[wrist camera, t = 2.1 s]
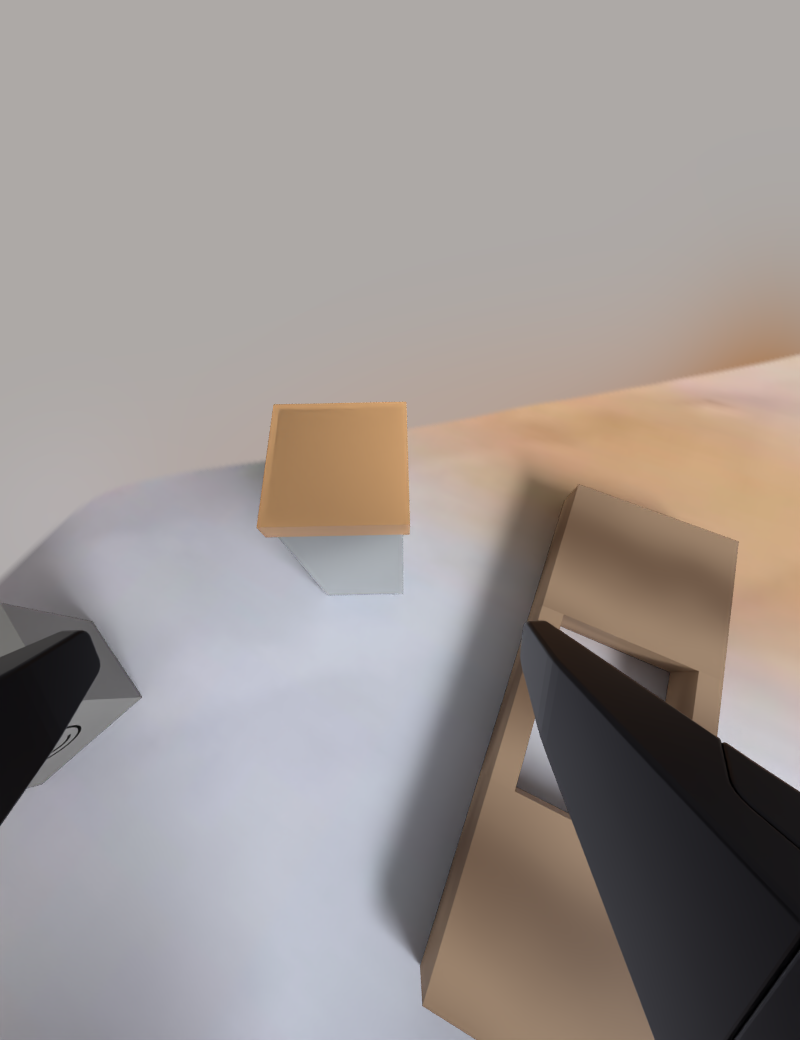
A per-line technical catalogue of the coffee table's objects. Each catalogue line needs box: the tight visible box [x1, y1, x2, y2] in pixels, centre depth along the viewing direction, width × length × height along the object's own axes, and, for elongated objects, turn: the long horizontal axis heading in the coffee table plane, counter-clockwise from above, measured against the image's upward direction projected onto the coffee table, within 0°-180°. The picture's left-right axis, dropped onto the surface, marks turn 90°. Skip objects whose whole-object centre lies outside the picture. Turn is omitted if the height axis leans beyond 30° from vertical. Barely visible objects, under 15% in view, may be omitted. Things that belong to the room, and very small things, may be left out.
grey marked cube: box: [0, 603, 142, 788], centre depth 16 cm, size 5×5×5 cm
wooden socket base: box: [420, 484, 739, 1040], centre depth 17 cm, size 22×8×2 cm, turn 156°
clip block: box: [257, 402, 410, 595], centre depth 17 cm, size 4×4×10 cm
